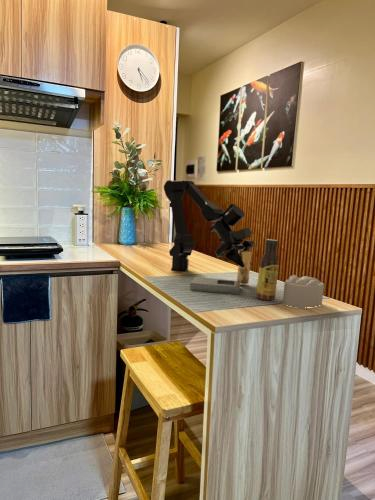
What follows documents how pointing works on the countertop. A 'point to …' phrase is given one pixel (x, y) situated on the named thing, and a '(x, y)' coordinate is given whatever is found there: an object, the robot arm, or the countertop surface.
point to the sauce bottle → (268, 272)
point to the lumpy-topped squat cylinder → (303, 292)
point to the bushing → (244, 272)
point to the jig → (215, 285)
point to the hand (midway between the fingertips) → (247, 266)
